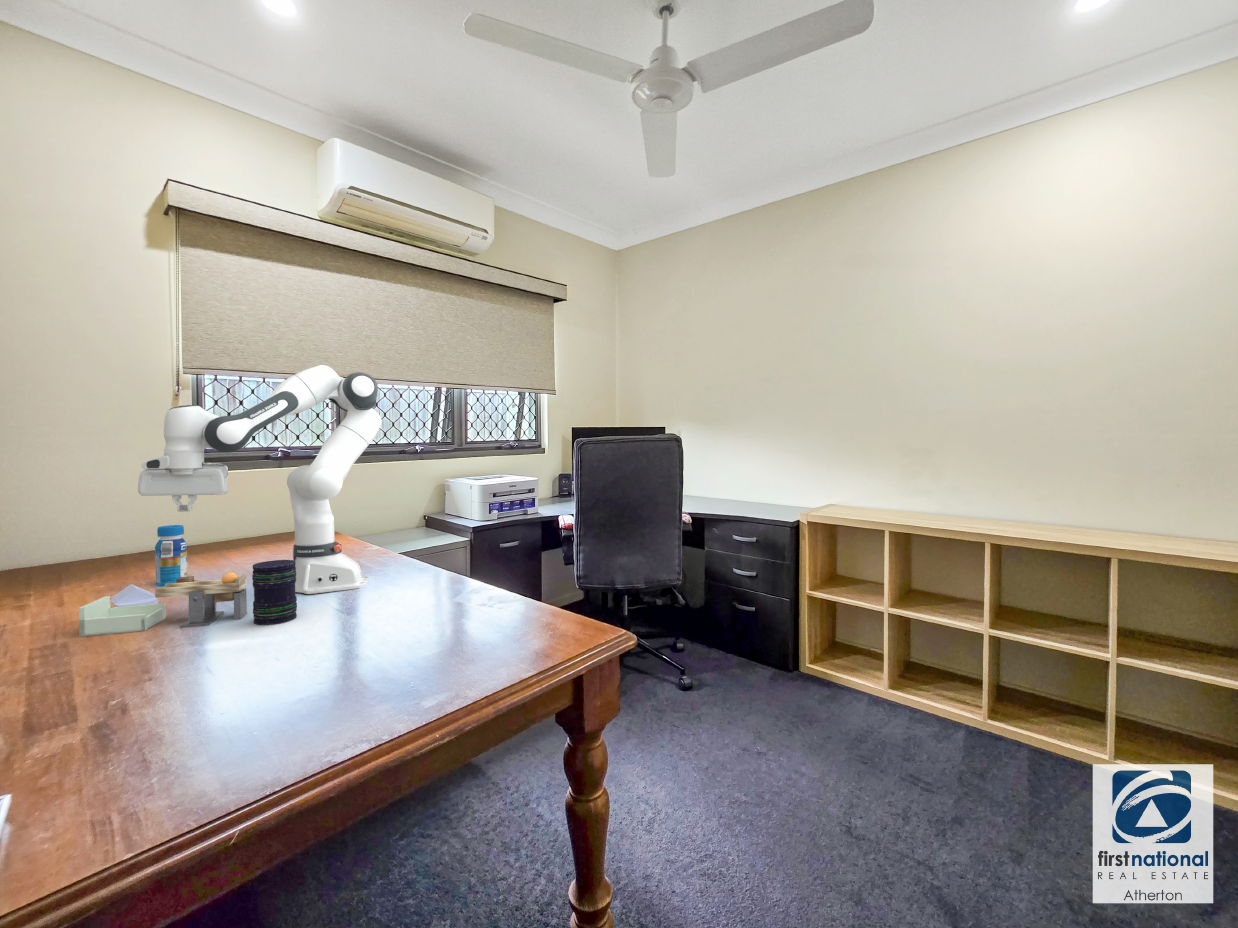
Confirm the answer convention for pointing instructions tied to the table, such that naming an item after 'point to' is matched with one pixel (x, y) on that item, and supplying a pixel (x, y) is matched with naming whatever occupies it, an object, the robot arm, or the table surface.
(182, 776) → the table surface
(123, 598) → the wedge on round base
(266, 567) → the dark barrel
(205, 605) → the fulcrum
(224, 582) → the ball
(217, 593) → the lever
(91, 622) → the tray
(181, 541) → the beverage bottle
